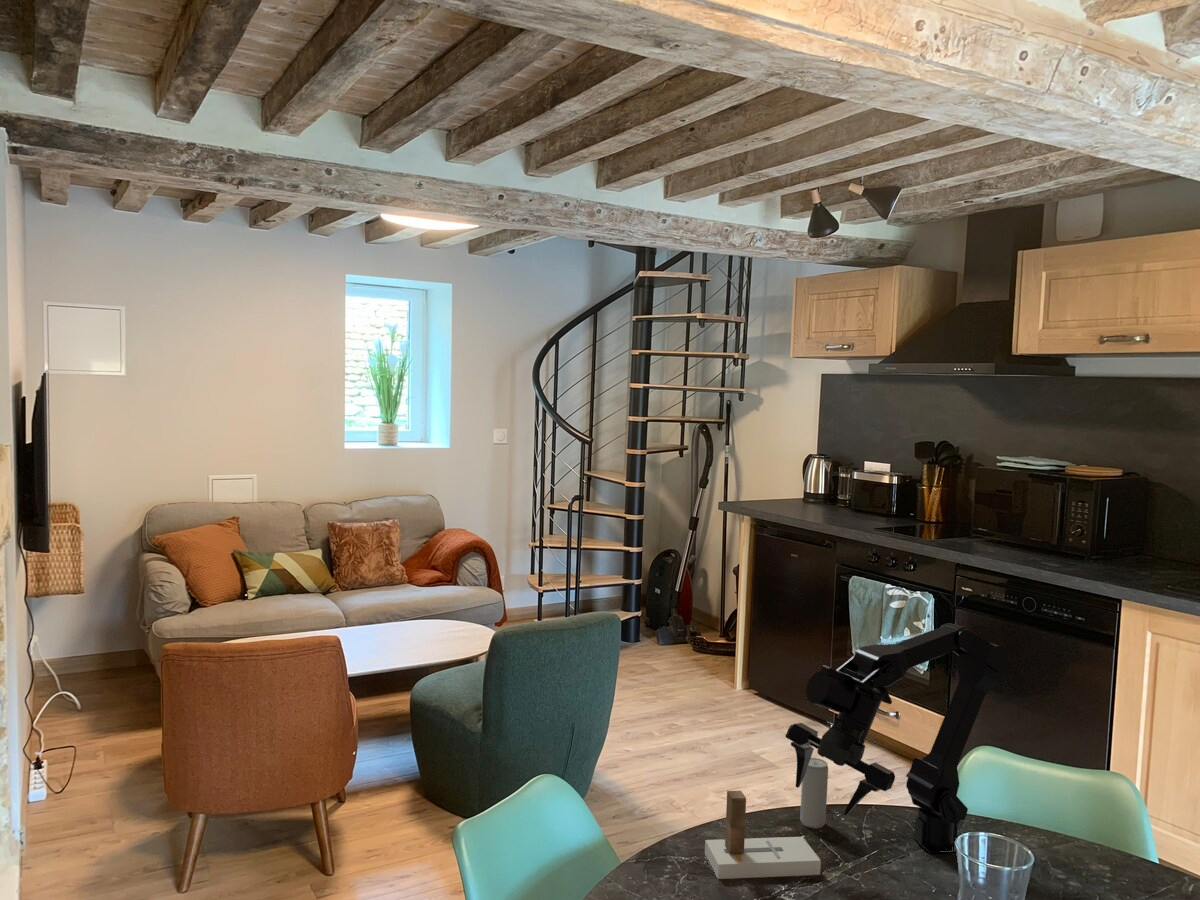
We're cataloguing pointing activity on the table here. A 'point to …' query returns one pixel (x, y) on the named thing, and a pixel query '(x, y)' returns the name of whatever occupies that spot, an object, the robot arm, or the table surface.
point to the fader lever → (735, 822)
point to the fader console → (763, 858)
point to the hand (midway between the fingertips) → (821, 800)
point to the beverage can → (814, 794)
